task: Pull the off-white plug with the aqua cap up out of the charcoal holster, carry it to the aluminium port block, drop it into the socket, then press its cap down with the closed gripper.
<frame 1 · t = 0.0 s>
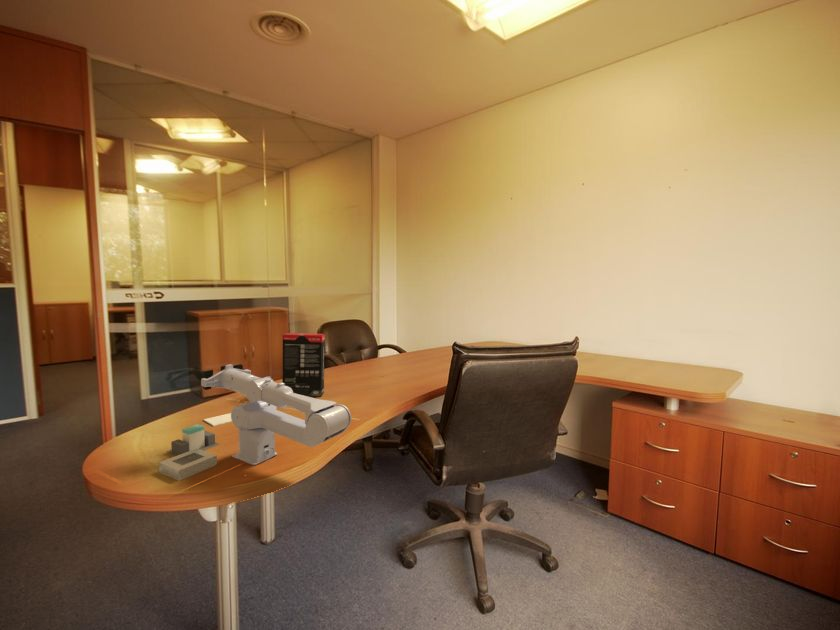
hand: (209, 371, 117), 22 cm above the table, tool horizontal, fingers open, 7 cm apart
plug: (193, 447, 112), resting on holster
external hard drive: (226, 422, 137), on the table
graphics card box: (303, 395, 169), on the table
port: (188, 469, 100), on the table
holster: (193, 449, 112), on the table
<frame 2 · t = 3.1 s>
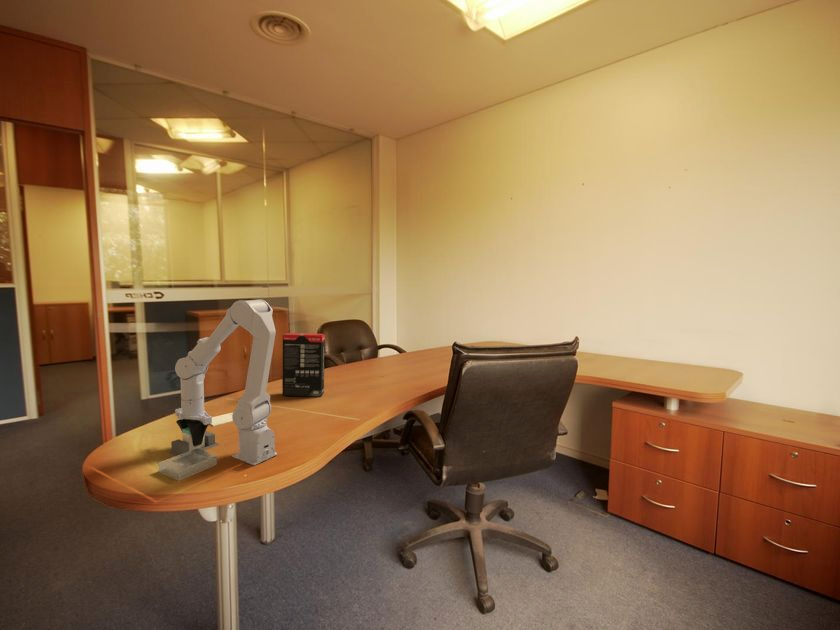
hand: (193, 443, 112), 2 cm above the table, tool pointing down, fingers closed on plug, 3 cm apart
plug: (193, 447, 112), resting on holster, touching gripper
everything else where it was.
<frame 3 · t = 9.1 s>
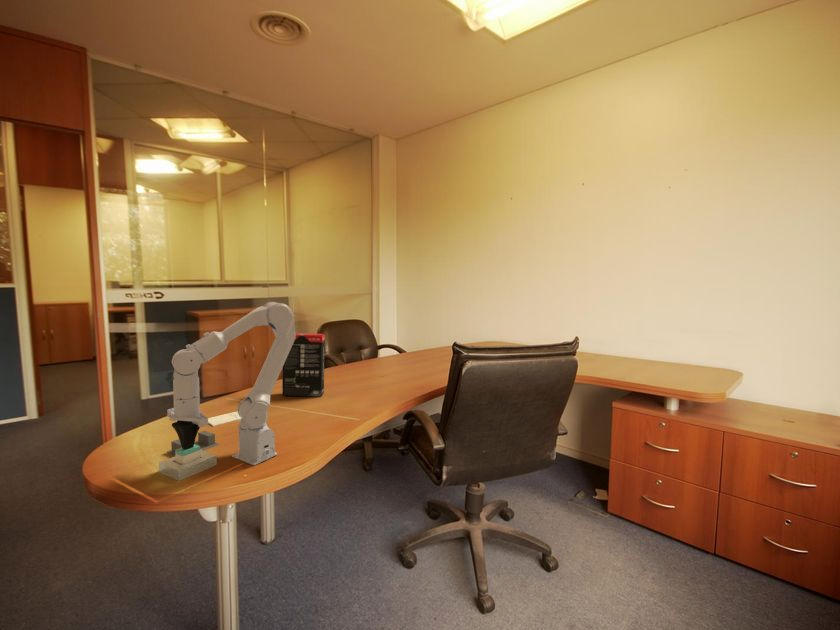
hand: (188, 448, 100), 6 cm above the table, tool pointing down, fingers closed, pressing on plug
plug: (188, 470, 100), resting in port, touching gripper
everything else where it was.
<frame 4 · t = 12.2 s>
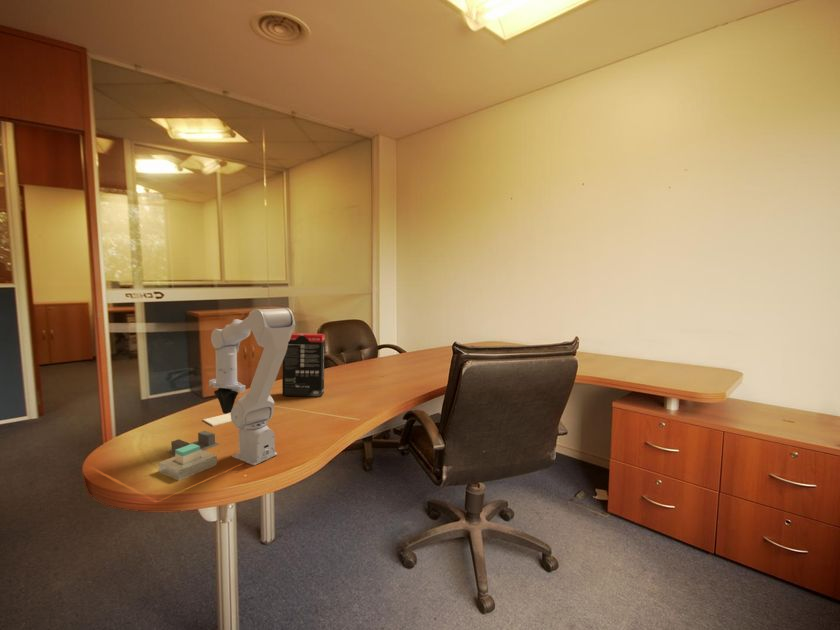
hand: (227, 412, 117), 9 cm above the table, tool pointing down, fingers closed
plug: (188, 470, 100), resting in port
everything else where it was.
at the end: plug 0.1 cm off-centre on the port, point 0.0 cm above the port's base; plug tilted 0°; the gripper is holding nothing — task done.
